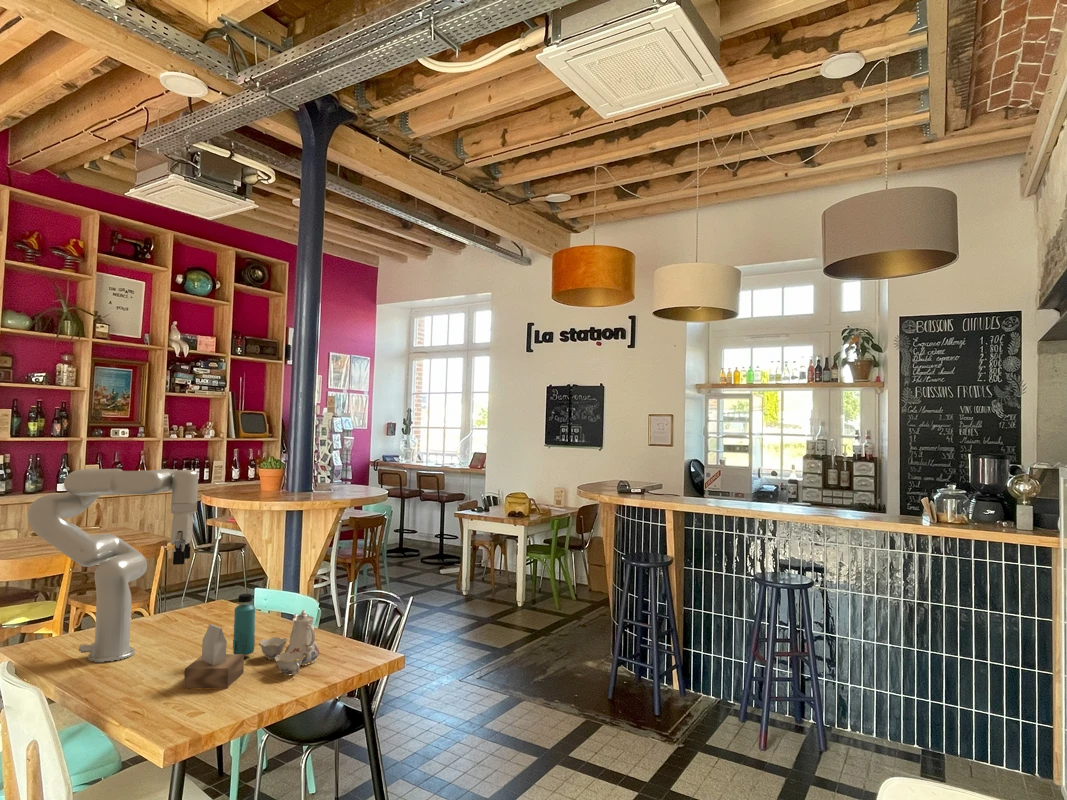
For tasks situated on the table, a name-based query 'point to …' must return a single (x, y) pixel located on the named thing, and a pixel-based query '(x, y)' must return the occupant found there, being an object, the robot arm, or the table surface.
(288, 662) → the chinaware
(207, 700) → the table surface
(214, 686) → the brown wooden block
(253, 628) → the beverage bottle
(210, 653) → the milk carton
